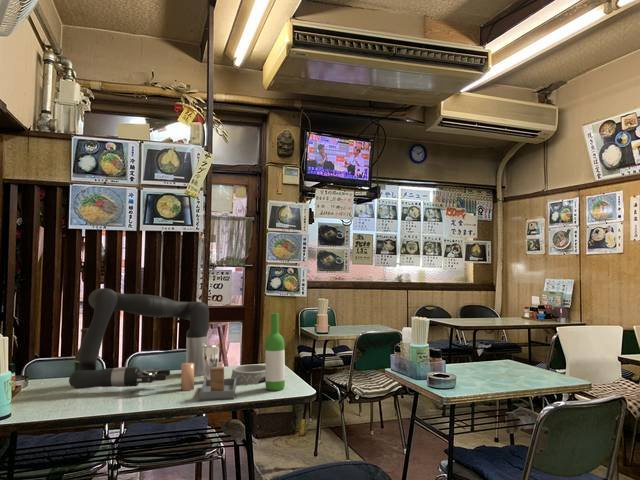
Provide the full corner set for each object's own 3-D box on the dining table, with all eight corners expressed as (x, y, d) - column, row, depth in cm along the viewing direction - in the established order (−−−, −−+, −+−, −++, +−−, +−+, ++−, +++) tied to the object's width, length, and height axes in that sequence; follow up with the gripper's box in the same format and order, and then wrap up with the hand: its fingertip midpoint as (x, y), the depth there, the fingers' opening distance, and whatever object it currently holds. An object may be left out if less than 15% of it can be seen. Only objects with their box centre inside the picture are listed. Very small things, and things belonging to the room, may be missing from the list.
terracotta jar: (182, 387, 189) (183, 362, 190) (195, 387, 189) (195, 362, 190) (179, 390, 184) (180, 365, 185) (192, 390, 184) (192, 364, 185)
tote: (205, 387, 190) (205, 379, 190) (236, 385, 191) (236, 378, 192) (198, 400, 169) (198, 392, 169) (233, 398, 171) (233, 390, 171)
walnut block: (212, 393, 176) (212, 367, 177) (224, 393, 177) (224, 366, 178) (210, 396, 172) (210, 369, 173) (223, 396, 172) (222, 369, 173)
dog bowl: (280, 379, 203) (280, 366, 203) (247, 387, 189) (247, 374, 189) (254, 374, 214) (254, 362, 214) (222, 381, 200) (222, 368, 201)
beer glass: (214, 383, 195) (214, 347, 196) (199, 383, 197) (199, 347, 198) (221, 379, 202) (221, 345, 203) (206, 379, 203) (206, 344, 204)
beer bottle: (69, 387, 192) (71, 329, 194) (85, 383, 199) (86, 327, 201) (84, 389, 189) (85, 329, 191) (99, 384, 197) (100, 327, 198)
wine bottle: (277, 392, 180) (277, 314, 182) (261, 389, 184) (261, 313, 186) (288, 387, 187) (287, 312, 189) (272, 385, 191) (272, 312, 193)
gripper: (120, 370, 177) (164, 369, 179) (130, 363, 191) (171, 362, 193) (120, 390, 176) (164, 388, 179) (130, 382, 190) (171, 380, 193)
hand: (167, 374), depth 186 cm, fingers open, 8 cm apart
